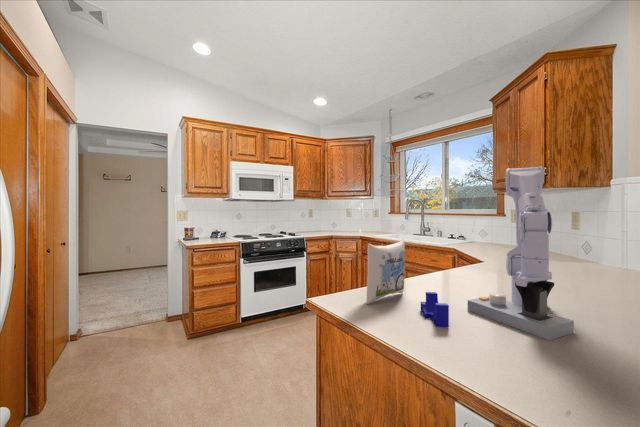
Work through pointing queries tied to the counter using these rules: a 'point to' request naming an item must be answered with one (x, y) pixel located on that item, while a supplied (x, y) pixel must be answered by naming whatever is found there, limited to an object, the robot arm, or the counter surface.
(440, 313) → the cable clip
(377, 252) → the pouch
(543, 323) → the power strip
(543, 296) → the plug
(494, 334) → the counter surface
